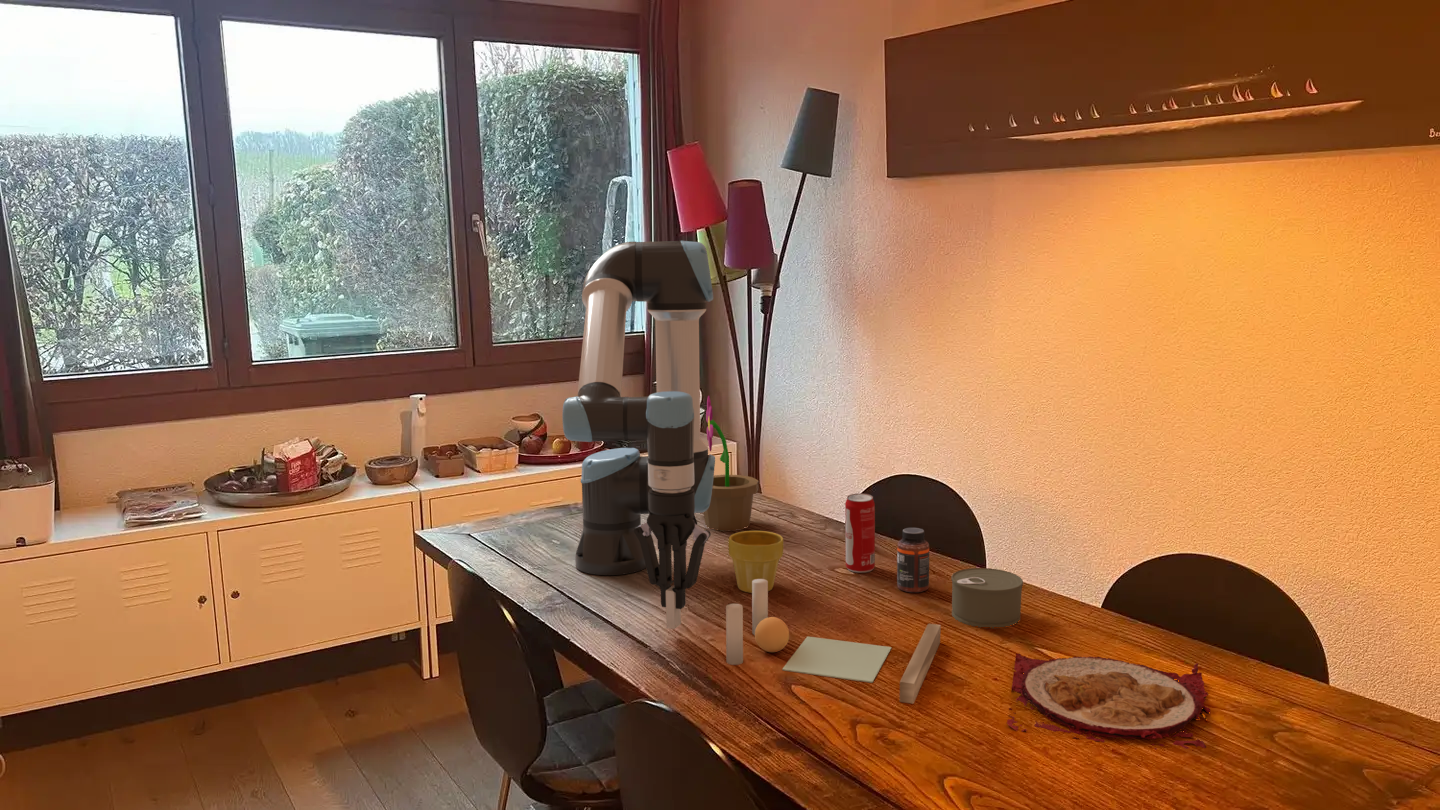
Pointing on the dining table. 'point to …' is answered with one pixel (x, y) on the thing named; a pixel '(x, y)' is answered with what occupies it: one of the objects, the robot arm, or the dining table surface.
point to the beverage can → (860, 533)
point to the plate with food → (1110, 697)
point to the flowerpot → (728, 490)
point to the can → (986, 597)
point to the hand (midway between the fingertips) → (673, 625)
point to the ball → (772, 634)
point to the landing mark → (838, 659)
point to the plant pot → (755, 557)
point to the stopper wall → (919, 664)
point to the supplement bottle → (913, 561)
